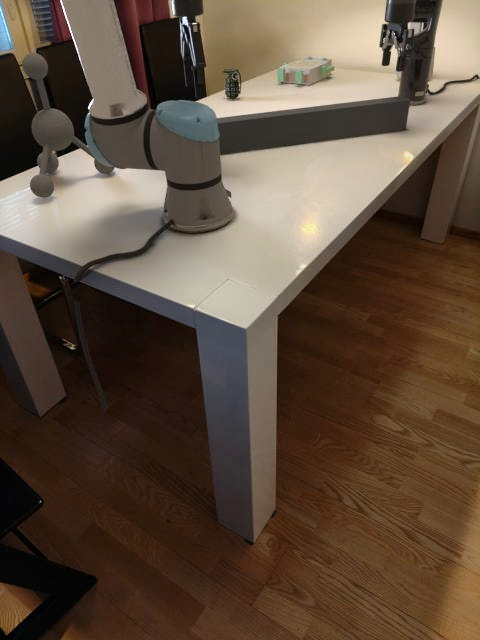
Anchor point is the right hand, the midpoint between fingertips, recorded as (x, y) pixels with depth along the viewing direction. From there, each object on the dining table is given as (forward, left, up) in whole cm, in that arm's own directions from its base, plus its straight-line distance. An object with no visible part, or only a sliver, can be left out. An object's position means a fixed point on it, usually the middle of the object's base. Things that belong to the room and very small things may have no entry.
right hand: (392, 68), depth 139 cm
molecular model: (+67, -63, -17) cm, 94 cm away
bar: (+20, -22, -17) cm, 34 cm away
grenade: (-19, -63, -17) cm, 68 cm away
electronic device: (-67, -6, -17) cm, 69 cm away
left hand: (+38, -42, 0) cm, 57 cm away
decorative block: (-57, -49, -17) cm, 77 cm away
